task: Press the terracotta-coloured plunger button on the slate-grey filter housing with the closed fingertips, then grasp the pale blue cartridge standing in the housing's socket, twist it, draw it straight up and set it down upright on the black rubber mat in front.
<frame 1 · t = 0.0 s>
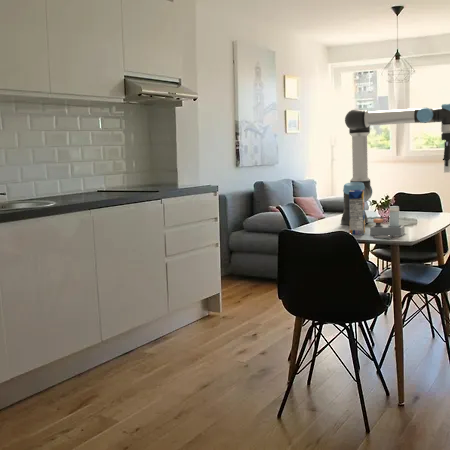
hand: (448, 171, 327), 28 cm above the table, fingers open, 13 cm apart
beverage box: (357, 233, 307), on the table
mat: (383, 237, 289), on the table
plunger: (378, 224, 301), point 5 cm above the table, slide at 0.0 cm
housing: (387, 234, 299), on the table
cartridge: (394, 234, 297), resting in housing
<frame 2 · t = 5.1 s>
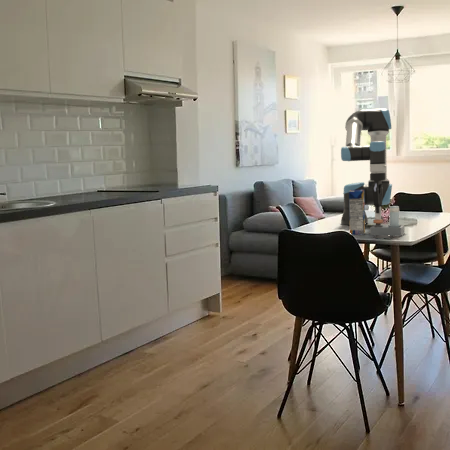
hand: (378, 219, 300), 7 cm above the table, fingers closed
plunger: (378, 225, 301), point 4 cm above the table, slide at -0.3 cm, touching gripper
everything else where it was.
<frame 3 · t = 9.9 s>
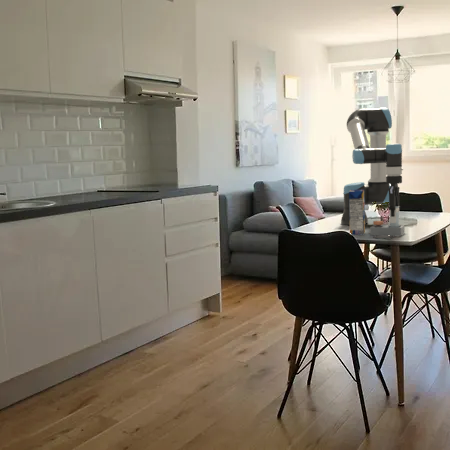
hand: (394, 222, 297), 6 cm above the table, fingers closed on cartridge, 4 cm apart
plunger: (378, 226, 301), point 4 cm above the table, slide at -1.1 cm
cartridge: (394, 234, 297), resting in housing, touching gripper
everything else where it was.
when the fingers open (8 cm above the table, at t = 16.4 s): cartridge drops 1 cm, resting on mat.
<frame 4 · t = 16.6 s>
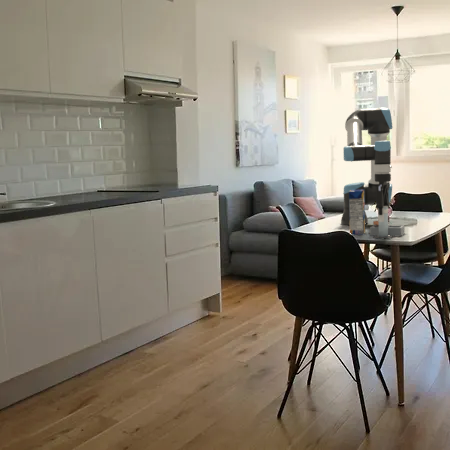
hand: (383, 220, 288), 8 cm above the table, fingers open, 8 cm apart
cartridge: (383, 236, 289), point 1 cm above the table, touching mat
everything else where it was.
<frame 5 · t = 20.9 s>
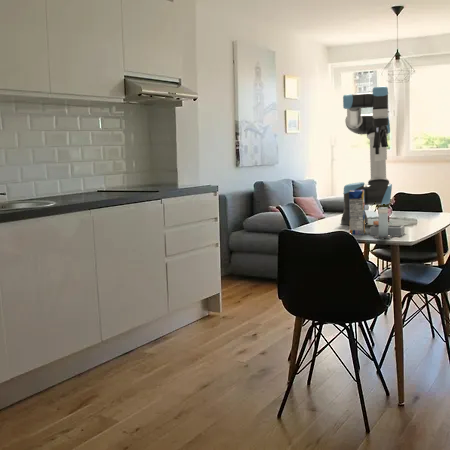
hand: (380, 160, 302), 37 cm above the table, fingers open, 13 cm apart
nothing on the table moved.
at the end: cartridge inside the target area on the mat (0.1 cm from its centre), point 0.6 cm above the mat's base; cartridge tilted 0°; plunger slide at -1.1 cm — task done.
